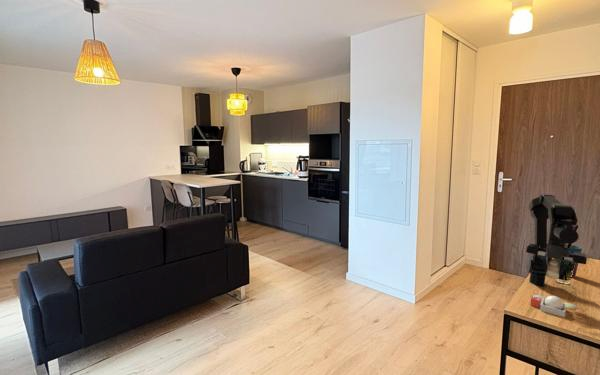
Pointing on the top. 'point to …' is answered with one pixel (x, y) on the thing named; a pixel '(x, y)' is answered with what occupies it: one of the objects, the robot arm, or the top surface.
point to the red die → (535, 301)
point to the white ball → (554, 302)
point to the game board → (554, 310)
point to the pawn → (553, 269)
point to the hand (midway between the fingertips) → (552, 273)
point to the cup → (573, 249)
